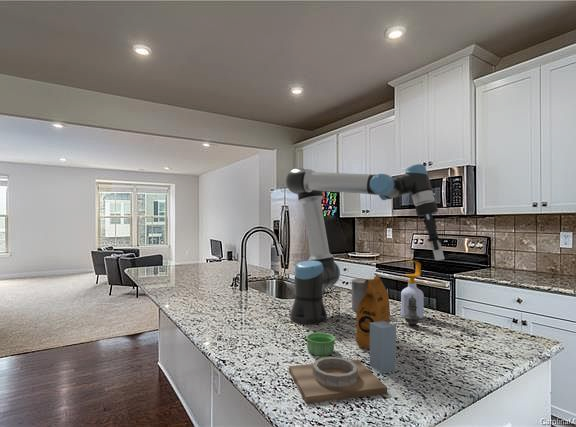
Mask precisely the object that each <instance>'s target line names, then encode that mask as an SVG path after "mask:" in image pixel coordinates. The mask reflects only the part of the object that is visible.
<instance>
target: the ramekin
mask: <svg viewBox="0 0 576 427" xmlns="http://www.w3.org/2000/svg"><path fill="white" fill-rule="evenodd" d="M305 339H306V342H307V351H308V353H310V354H311V355H314V356H321V357H324V356H325V357H327V356H329V355H332V354H333V353H334V350H335V341H336V337H335V336H334V335H333V334H330V333H327V332H311V333H309V334H307V335H306V337H305Z"/></svg>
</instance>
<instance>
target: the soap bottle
mask: <svg viewBox="0 0 576 427" xmlns="http://www.w3.org/2000/svg"><path fill="white" fill-rule="evenodd" d="M406 260H407V261H410V262H412V263H414V264H415V272H414V273H405V276H407V277H408V278H409V280H408V282H407V287H405V288H403V289H402V290H401V293H400V312H401V313H400V315H401V317H403V318H405V317H404V316H405V315H407V314H408V307H407V306H408V299H409V298H411V297H412V295H413V298H415V299H416V307H417V309H416V313H417V316H419V317H420V319H419V320H421V319H423V318H424V314H425V313H424V309H425V308H424V307H425V306H424V300H425V299H424V296H425V295H424V292H423V291H422V290H421V289H419V288H418V287H417V281H415V279H416V277H417V278H418V277H421V274H422V270H421V269H422V264H421V263H420V262H419V261H417V260H413V259H409V258H406Z"/></svg>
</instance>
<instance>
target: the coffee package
mask: <svg viewBox="0 0 576 427" xmlns="http://www.w3.org/2000/svg"><path fill="white" fill-rule="evenodd" d="M366 279H367V280H366V281H365V282H364V283H365V284H368V286H369V287H368V288H367V290H366V293H365V296H364V297H363V298H362V299H361V301H360V303H359V305H358V309H357V312H355V313H356V336H355V337H356V338H355V342H356V345H357V346H358V347H360V348H364V349H367V350H370V323H372V322H379V321H386V322H388V323H390V322H391V309H390V298H389V293H388V291H387V289H386V286H385V284H384V283H383V281H382V279H381V277H380V276H379V275H375V276H374V278H372V279H371V278H370V279H369V278H366ZM390 324H391V323H390Z"/></svg>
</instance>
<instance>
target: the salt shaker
mask: <svg viewBox="0 0 576 427" xmlns="http://www.w3.org/2000/svg"><path fill="white" fill-rule="evenodd" d="M407 307H408V314H407V315H405V316H404V317H403V318H404V319H405V323H406V324H405V327H406V328H409V329H419V328H420V325H419V324H418V323H419V322H420V320H421V319H420V317H419V316H417V313H416V309H417V307H416V299H415V298H413V295H412V297H411V298H409V299H408V306H407Z"/></svg>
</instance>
